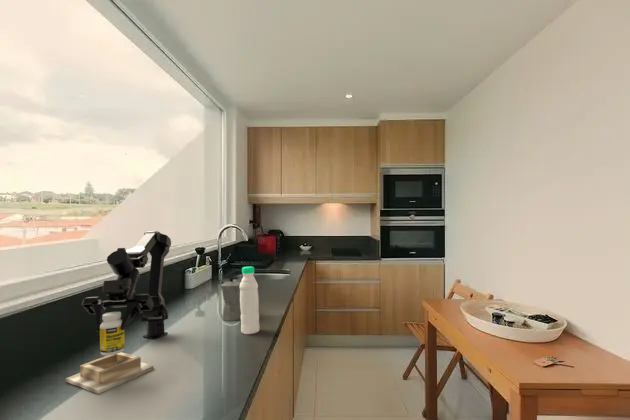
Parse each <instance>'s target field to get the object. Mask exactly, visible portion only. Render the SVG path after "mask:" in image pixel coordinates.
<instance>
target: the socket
mask: <svg viewBox="0 0 630 420" xmlns="http://www.w3.org/2000/svg"><path fill="white" fill-rule="evenodd" d="M141 359H142V358H141V357H140V356H137V355H133V354H129V353H125V352H123V351H122V352H120V353H118V354H114V355H107V356H105V355H104V356H102V357H100V358H97V359H94V360H91V361H89V362H86V363H84V364H80V366H79V371H80V372H78V373H76V374H74V375H71V376H69V377H66V378H65V382H66V383H69V384H70V385H74V386H76V387H79V388H81V389H84V390H85V391H89V392H92V393H95V394H97V395H99V394H101V393H104V392H106V391H108V390H111V389H113V388H114V387H118V386H119V385H121V384H124V383H125V382H129V381H131V380H132V379H136V378H137V377H139V376H142V375H143V374H147V373H149V372H150V371H153V370H154V369H155V365H153V364H150V363H145V362H142V360H141Z"/></svg>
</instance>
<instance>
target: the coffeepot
mask: <svg viewBox="0 0 630 420" xmlns="http://www.w3.org/2000/svg"><path fill="white" fill-rule="evenodd" d="M241 282H242V281H240V282H239V281H234V277H232V276H230V277H229V281H226V280H222V282H221V284H220V288H221V289H220V290H221V292H222V299H223V308H222V316H221V317H222V320H223V321H226V322H233V321H238V320H241V309H240V288H239V286H240V283H241Z"/></svg>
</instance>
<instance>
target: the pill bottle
mask: <svg viewBox="0 0 630 420" xmlns="http://www.w3.org/2000/svg"><path fill="white" fill-rule="evenodd" d="M121 318H122V312H121V311H111V312H110V311H109V312H106V314H103V315H102V319H103V321H104V322H102V323H101V325H100V331H99V352H100V355H101V356H104V357H105V356H108V355H114V354H118V353H120V352H122V353H123V351H124V350H125V349H126V348H125V347H126V345H125V342H126V341H125V340H126V339H125V338H126V337H125V329H124V330H121V324H122V321H123V319H121Z"/></svg>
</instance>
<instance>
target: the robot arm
mask: <svg viewBox="0 0 630 420" xmlns="http://www.w3.org/2000/svg"><path fill="white" fill-rule="evenodd" d="M171 246H172V241H171V237H169V235H167V234H164V233H161V232H160V231H158V230H148V231H145V232H143V236H142V237H141V239H139V241H138V242H137V244H135V246H134V247H131V248H128V249H126V248H125V247H118V248H117V250H115V251H113V252H111V253H110V254H109V255H108V256H107V257H106V262H107V264H108V265H109V267H110V268H111V270H112V272H113V273H114V275H117V278H116V280H115V279H113V280H104V281H103V285H102V290H101V292H102V293H105V294H106V296H105V297H106V298H107V299H109V300H103V299H101V297H100V296H88V297H85V298H83V300H82V302H81V305H80V306H82V308H83V310H85V312H86V313H87V314H89V315H95V318H96V319H95V323H96V326H95V327H96V330H95V331H96V332H98V333H100V325H101V323H102V322H104V321H103V319H102V315H103V314H106V313H107V311H106V309H107V308H124V307H126V311H125V314H124V317H123V319H122V320H123V321H122V324H121V330H124V331H125V329H126V328H127V327H128V325H130V324H131V322H132V321H133V320H134V319H135V318H136V317H138V316H140V317H139V318H140V321H141V323H144V322H145V323H146V324H145V325H146V334H143V335H142V338H147V339H150V340H155V339H158V338H160V337H163V336H166V335H168V332H167V331H165V320H168V319H169V310H168V308H167V306H166V304H165V302H166V301H165V299H164V297H163V295H162V285H163V284H162V283H163V275H164V264H165V258H166V256H167V255H168V254H169V252H170V247H171ZM148 254H150V259H151V260H150V270H149V276H148V277H149V279H148V284H147V285H148V286H147V288H148V289H147V293H136V292H137V291H136V289H135V288H136V285H137V282H138V281H139V280H140V279H141V276H140V271H139V269H144V268H145V267H146V265H148V261H149V257H148ZM133 295H134V296H133Z"/></svg>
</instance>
